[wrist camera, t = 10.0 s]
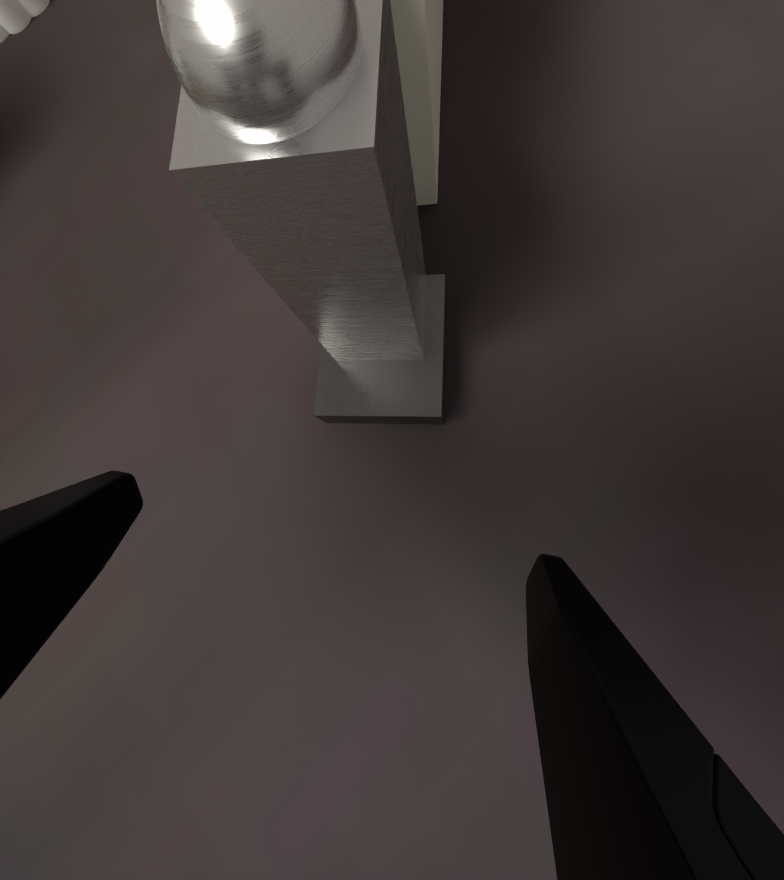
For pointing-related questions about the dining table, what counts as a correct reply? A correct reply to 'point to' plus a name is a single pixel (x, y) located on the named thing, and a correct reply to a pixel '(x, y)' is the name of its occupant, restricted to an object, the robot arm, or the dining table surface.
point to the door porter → (316, 186)
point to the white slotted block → (421, 87)
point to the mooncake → (18, 15)
